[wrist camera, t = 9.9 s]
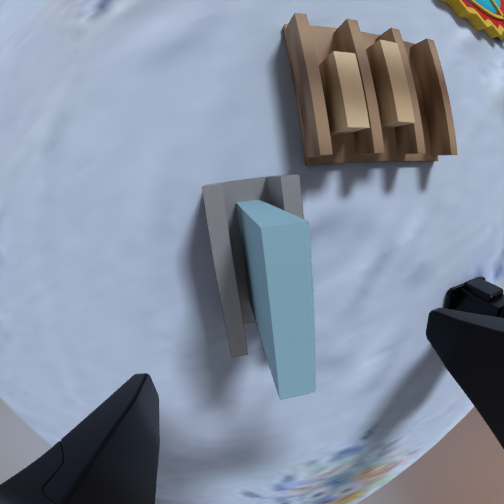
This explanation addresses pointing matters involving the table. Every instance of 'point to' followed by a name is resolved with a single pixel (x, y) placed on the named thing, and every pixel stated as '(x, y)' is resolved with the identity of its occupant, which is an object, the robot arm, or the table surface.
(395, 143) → the rack
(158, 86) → the table surface
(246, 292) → the holder
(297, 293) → the tall sheet
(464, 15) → the decorative plaque
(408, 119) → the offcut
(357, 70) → the offcut small
